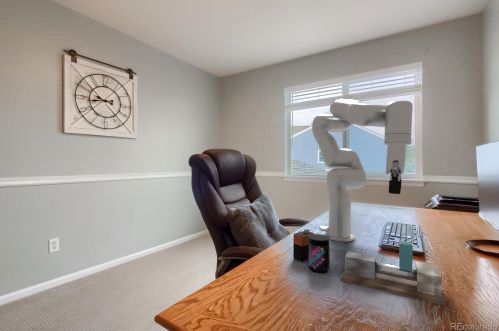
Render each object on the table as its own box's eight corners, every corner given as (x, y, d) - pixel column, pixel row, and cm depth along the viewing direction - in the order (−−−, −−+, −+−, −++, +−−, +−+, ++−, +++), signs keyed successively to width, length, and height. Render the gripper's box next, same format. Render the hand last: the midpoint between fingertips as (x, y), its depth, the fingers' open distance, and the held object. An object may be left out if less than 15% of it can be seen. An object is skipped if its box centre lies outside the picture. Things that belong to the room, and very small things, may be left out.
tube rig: (340, 280, 71) (340, 259, 71) (347, 265, 81) (348, 247, 81) (445, 305, 59) (445, 280, 59) (438, 284, 69) (438, 263, 69)
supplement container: (304, 265, 81) (304, 234, 81) (323, 264, 82) (323, 233, 82) (313, 275, 74) (313, 241, 74) (333, 273, 76) (334, 239, 75)
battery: (314, 258, 87) (314, 230, 87) (302, 263, 83) (302, 233, 83) (305, 254, 91) (305, 227, 91) (292, 259, 87) (292, 231, 87)
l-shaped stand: (365, 272, 72) (365, 238, 72) (366, 268, 74) (366, 235, 74) (430, 286, 64) (431, 248, 64) (429, 281, 66) (429, 245, 66)
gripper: (386, 141, 89) (384, 187, 90) (382, 138, 75) (379, 194, 76) (410, 141, 85) (408, 189, 86) (411, 138, 71) (408, 196, 72)
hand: (395, 191), depth 81 cm, fingers open, 9 cm apart
